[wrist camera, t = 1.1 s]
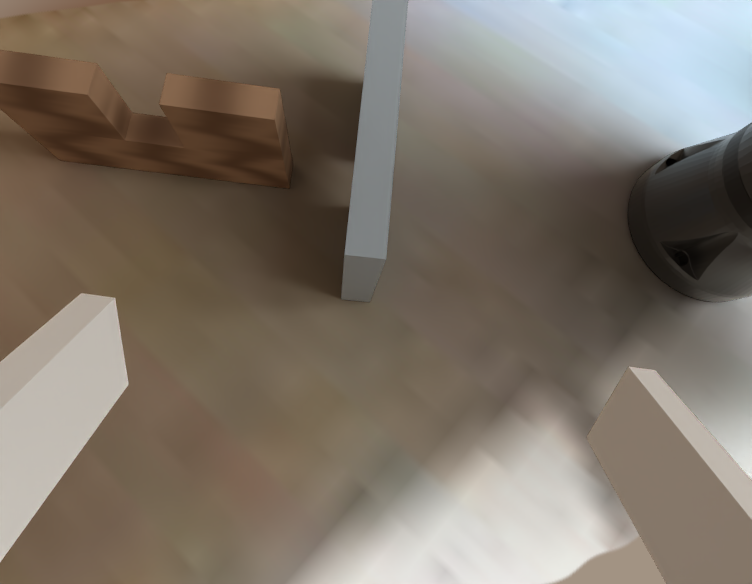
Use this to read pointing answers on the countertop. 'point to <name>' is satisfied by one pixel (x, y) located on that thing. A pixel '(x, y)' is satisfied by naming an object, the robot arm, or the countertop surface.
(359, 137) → the slate plate
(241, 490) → the countertop surface
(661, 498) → the robot arm
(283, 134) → the walnut board
